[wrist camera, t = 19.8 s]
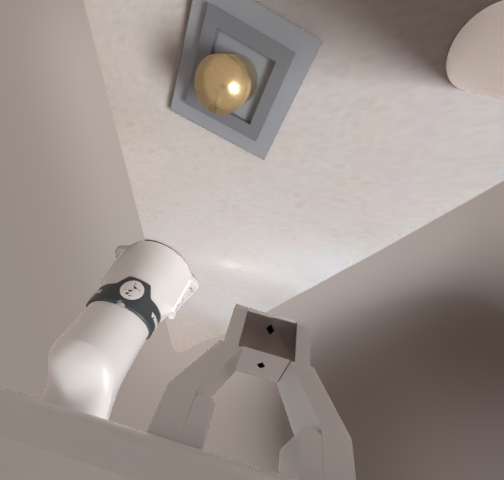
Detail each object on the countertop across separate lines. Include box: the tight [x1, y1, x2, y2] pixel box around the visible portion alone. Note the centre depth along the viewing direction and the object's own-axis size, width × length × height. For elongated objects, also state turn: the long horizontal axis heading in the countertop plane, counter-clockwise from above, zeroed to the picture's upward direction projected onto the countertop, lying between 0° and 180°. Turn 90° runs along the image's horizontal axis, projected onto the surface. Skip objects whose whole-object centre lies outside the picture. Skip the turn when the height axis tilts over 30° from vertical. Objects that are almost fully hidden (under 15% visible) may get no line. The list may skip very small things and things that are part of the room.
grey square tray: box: [170, 0, 322, 160], centre depth 29 cm, size 14×14×2 cm
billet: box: [194, 54, 258, 115], centre depth 26 cm, size 5×5×7 cm
